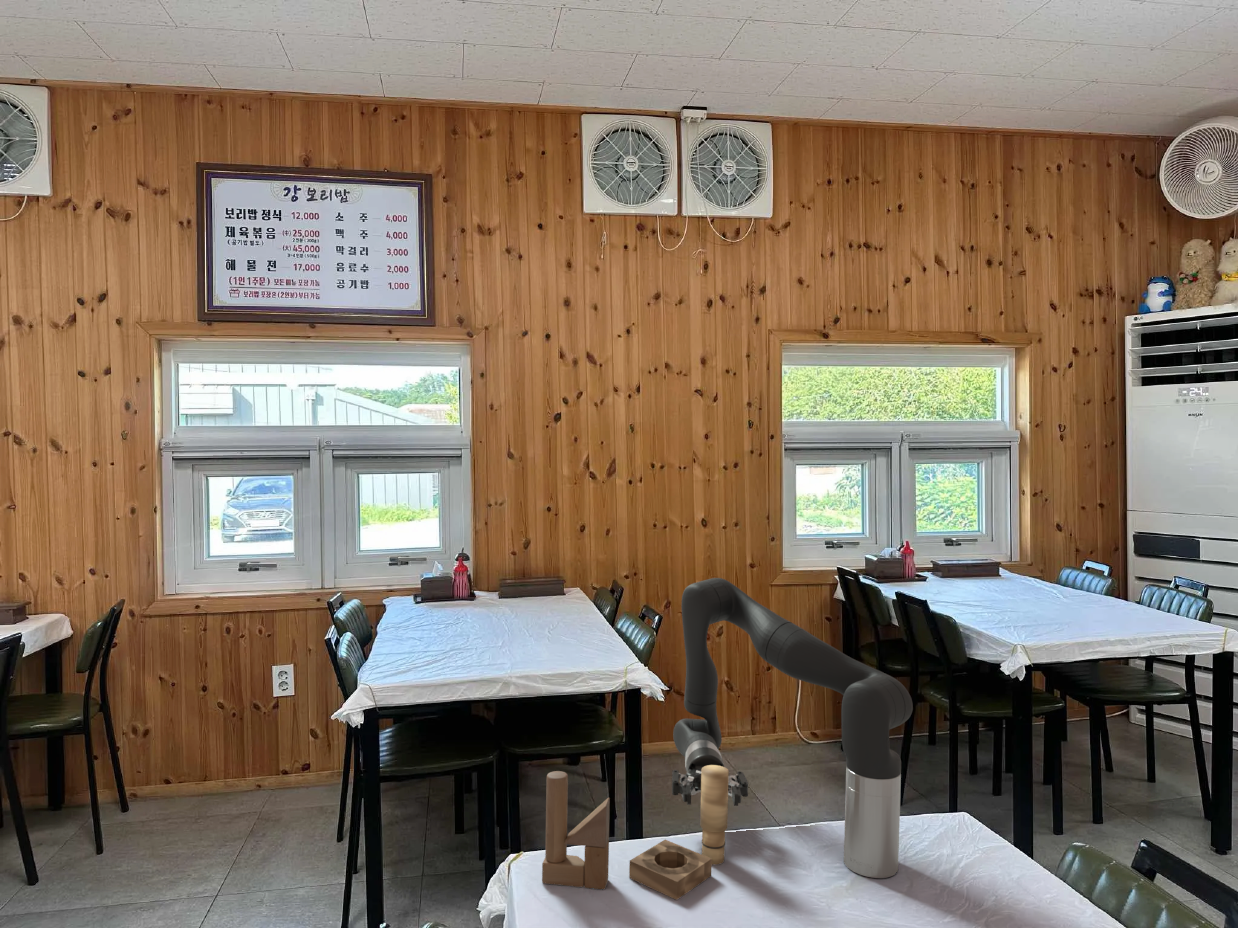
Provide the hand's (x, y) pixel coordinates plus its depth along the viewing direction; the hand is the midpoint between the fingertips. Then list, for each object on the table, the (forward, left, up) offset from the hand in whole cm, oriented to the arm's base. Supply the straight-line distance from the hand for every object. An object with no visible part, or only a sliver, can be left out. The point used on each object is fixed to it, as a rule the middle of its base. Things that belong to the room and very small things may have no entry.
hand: (712, 799), depth 149 cm
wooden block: (+24, -11, -10) cm, 28 cm away
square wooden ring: (+12, 0, -10) cm, 15 cm away
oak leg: (+2, +2, -10) cm, 10 cm away
